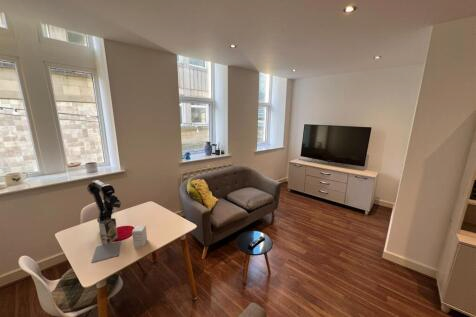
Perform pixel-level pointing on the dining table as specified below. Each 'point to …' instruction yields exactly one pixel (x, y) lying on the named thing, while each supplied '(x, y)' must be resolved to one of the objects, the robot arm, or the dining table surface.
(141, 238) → the supplement box
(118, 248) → the mat
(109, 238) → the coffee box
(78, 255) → the dining table surface
